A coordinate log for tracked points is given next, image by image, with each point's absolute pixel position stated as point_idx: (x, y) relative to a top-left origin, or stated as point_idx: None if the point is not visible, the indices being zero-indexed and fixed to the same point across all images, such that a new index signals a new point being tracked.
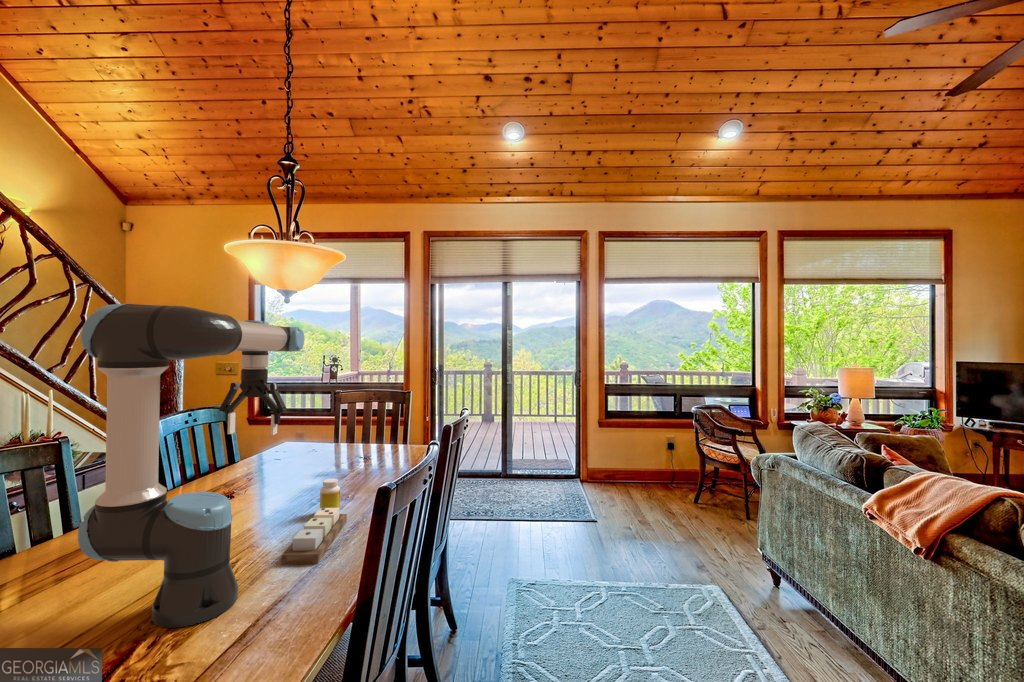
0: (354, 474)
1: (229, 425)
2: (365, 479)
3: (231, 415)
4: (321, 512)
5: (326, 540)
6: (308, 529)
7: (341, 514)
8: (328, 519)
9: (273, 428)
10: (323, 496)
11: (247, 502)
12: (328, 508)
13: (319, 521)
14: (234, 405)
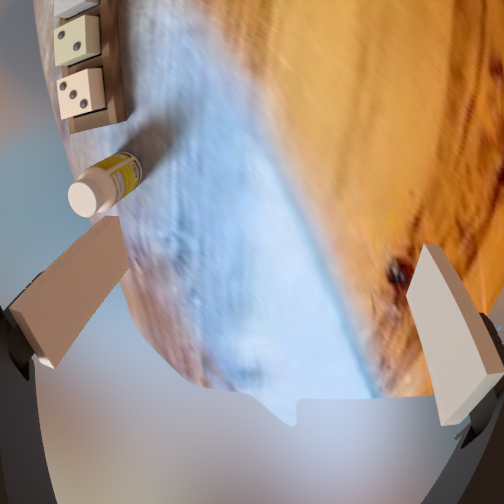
0: (192, 369)
1: (451, 285)
2: (158, 344)
3: (470, 369)
4: (80, 86)
5: (61, 18)
6: (73, 5)
7: (76, 130)
8: (57, 57)
9: (81, 242)
10: (104, 165)
11: (345, 242)
12: (77, 110)
13: (67, 43)
14: (473, 479)
